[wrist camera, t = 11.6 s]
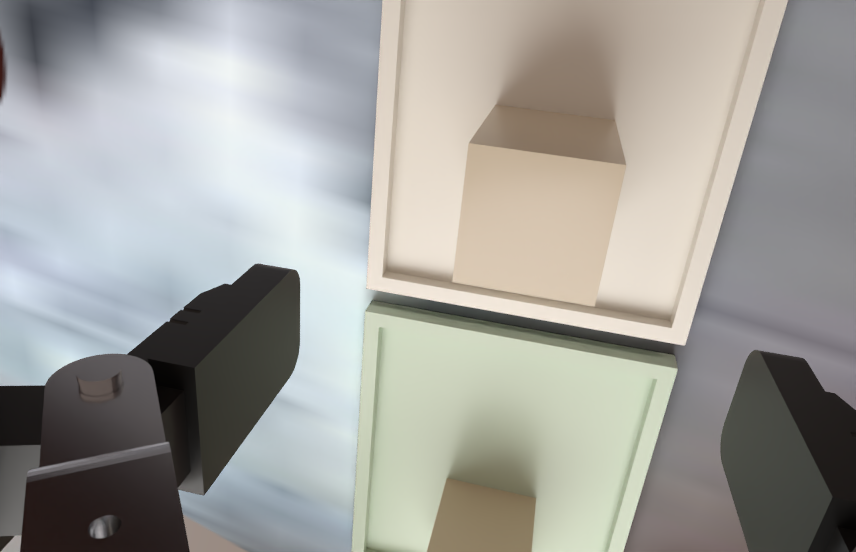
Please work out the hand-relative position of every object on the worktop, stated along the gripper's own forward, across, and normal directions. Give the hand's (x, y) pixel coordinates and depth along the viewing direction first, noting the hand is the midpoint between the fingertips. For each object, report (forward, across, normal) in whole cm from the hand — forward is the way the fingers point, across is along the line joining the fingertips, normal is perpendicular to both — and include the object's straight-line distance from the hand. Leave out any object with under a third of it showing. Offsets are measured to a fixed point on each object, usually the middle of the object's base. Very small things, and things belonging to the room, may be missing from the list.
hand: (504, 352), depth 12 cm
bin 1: (+13, 0, -3) cm, 13 cm away
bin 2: (+13, 0, +13) cm, 19 cm away
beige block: (+12, 0, 0) cm, 13 cm away
